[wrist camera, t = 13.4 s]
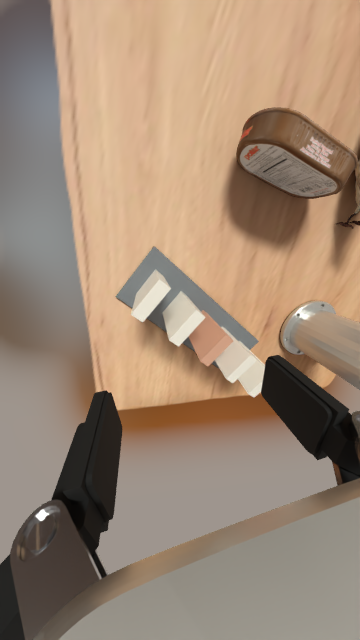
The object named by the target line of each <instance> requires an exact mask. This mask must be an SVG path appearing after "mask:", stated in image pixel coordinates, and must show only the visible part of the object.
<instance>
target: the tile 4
mask: <svg viewBox="0 0 360 640" xmlns="http://www.w3.org/2000/svg"><path fill="white" fill-rule="evenodd" d="M221 328H222V329H223V330H224V331H225V332H226V333H227V334H228V335H229V336H230V337H231V339H232V340H233V342H232V343H231V344H230V345H229V346H228V347H227V348H226V349H225V350H224V351H223V352H222V353H221V354H220V355H219V356H218V357H217V358H216V359H215V361H216V363H217V365H218V366H219V368H220V370H221V371H222V373H223V375H224V376H225V378H226V379H227V380H229V381H230V382H231V383H234V382H235V381H236V380H237V379H238V378H239V377H240V376H241V375H242V374H243V373H244V372H246V371H247V370H248V369H249V368H250V367H251V366H252V365H253V364H254V363H255V362H256V361H257V360H256V359H255V358H254V357H253V356H252V355H251V354H250V353H249V352H248V351H247V350H246V349H245V348H244V347H243V346H242V344H241V343H240V342H239V341H238V340H237V339H236V338H235V337H234V336H233V335H232V334H231V333H230V332H229V331H228V330H226V329H225V328H224V327H223V326H222V327H221Z"/></svg>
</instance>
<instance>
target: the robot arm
mask: <svg viewBox="0 0 360 640" xmlns="http://www.w3.org/2000/svg"><path fill="white" fill-rule="evenodd" d="M280 340H281V343H282V346H283V347H284V348H285V349H286V350H287V351H289V352H290V353H292V354H296V355H301V354H306V355H308V356H309V357H311V358H312V359H314V360H315V361H317V362H318V363H320V364H321V365H323V366H324V367H326V368H327V369H329V370H330V371H332V372H333V373H335V374H336V375H338V376H339V377H341V378H342V379H344V380H345V381H347V382H348V383H350V384H351V385H353V386H354V387H356V388H357V389H359V390H360V322H357V321H354V320H351V319H348V318H345V317H342V316H339V315H337V314H336V312H335V310H334V308H333V307H332V306H331V305H330V304H328V303H326V302H323V301H317V300H316V301H310V302H307V303H304V304H302V305H301V306H299V307H298V308H296V309H295V310H294V311H293V312H292V313H291V314H290V315H289V316H288V317H287V319H286V320H285V322H284V324H283V326H282V329H281V334H280ZM261 394H262V396H263V397H264V399H265V400H266V401H267V402H268V404H269V405H270V406H271V407H272V408H273V410H274V411H275V412H276V413H277V415H278V416H279V417H280V418H281V420H282V421H283V422H284V423H285V424H286V426H287V427H288V428H289V429H290V431H291V432H292V433H293V434H294V435H295V437H296V438H297V439H298V440H299V442H300V443H301V444H302V445H303V446H304V448H305V449H306V450H307V451H308V452H309V453H311V454H313V455H314V457H315V458H316V459H317V460H319V459H322V458H325V457H327V456H328V457H329V458H330V459H331V460H332V463H333V468H334V472H335V476H336V481H337V485H338V486H336V487H333V488H331V489H328V490H325V491H322V492H320V493H317V494H314V495H311V496H309V497H306V498H303V499H301V500H298V501H295V502H292V503H290V504H287V505H284V506H282V507H279V508H276V509H273V510H271V511H268V512H265V513H263V514H260V515H257V516H255V517H252V518H249V519H247V520H244V521H241V522H238V523H236V524H233V525H230V526H228V527H225V528H223V529H220V530H217V531H215V532H212V533H209V534H207V535H204V536H201V537H199V538H196V539H194V540H191V541H188V542H185V543H183V544H180V545H178V546H175V547H172V548H170V549H167V550H165V551H163V552H160V553H157V554H155V555H153V556H150V557H148V558H145V559H143V560H140V561H138V562H135V563H133V564H130V565H128V566H126V567H124V568H122V569H120V570H118V571H116V572H114V573H112V574H109V575H108V573H107V570H106V569H105V566H104V565H103V563H102V560H101V559H100V557H99V555H98V553H97V551H96V549H97V547H98V546H99V539H100V538H99V537H100V533H101V532H104V531H107V530H108V523H109V520H111V519H112V518H113V515H114V506H115V496H116V486H117V477H118V467H119V458H120V447H121V438H122V425H121V421H120V418H119V415H118V412H117V409H116V406H115V403H114V400H113V396H112V394H111V393H108V392H107V391H102V392H97V393H95V394H94V396H93V400H92V403H91V406H90V409H89V412H88V415H87V418H86V421H85V423H81V424H80V425H79V426H78V427H77V430H76V433H75V435H74V438H73V441H72V444H71V446H70V449H69V452H68V455H67V458H66V461H65V463H64V466H63V469H62V472H61V475H60V477H59V480H58V483H57V486H56V489H55V491H54V494H53V497H52V500H51V501H48V502H47V503H44V504H42V505H41V506H40V507H38V508H37V509H36V510H35V511H34V512H33V513H32V514H31V515H30V516H29V517H28V518H27V519H26V521H25V522H24V523H23V525H22V526H21V528H20V529H19V531H18V533H17V535H16V537H15V539H14V541H13V544H12V548H11V552H10V555H9V556H8V557H7V558H6V559H5V560H4V561H3V562H2V563H1V564H0V640H360V411H355V412H353V413H352V415H351V414H350V413H349V412H348V411H349V409H348V408H347V407H345V406H344V405H343V404H342V403H340V402H339V401H338V400H336V399H335V398H334V397H333V396H331V395H330V394H329V393H327V392H326V391H325V390H324V389H322V388H321V387H320V386H318V385H317V384H316V383H315V382H313V381H312V380H311V379H309V378H308V377H307V376H306V375H304V374H303V373H302V372H300V371H299V370H298V369H296V368H295V367H294V366H293V365H291V364H290V363H289V362H287V361H286V360H285V359H284V358H282V357H281V356H279V355H275V356H271V357H268V359H267V360H266V364H265V370H264V376H263V382H262V388H261Z"/></svg>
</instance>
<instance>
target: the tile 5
mask: <svg viewBox="0 0 360 640" xmlns="http://www.w3.org/2000/svg"><path fill="white" fill-rule="evenodd" d="M239 342H240V343H241V344H242V346H243V347H244V348H245V349H246V350H247V351H248V352H249V353H250V354H251V355H252V356H253V357H254V358H255V359H256V360H257V361H256V362H255V363H254V364H253V365H252V366H251V367H250V368H249V369H248V370H247V371H246V372H244V373H243V374H242V375H241V376H240V377H239V378H238V380H239V381H240V383H241V384H242V386H243V387H244V389H245V390H246V391H247V393H248V394H249V395H251V396H252V397H255V396H256V395H257V394H259V393H260V392H261V388H262V382H263V376H264V370H265V365H264V364H263V363H262V362H261V361H260V360H259V359H258V358H257V357H256V356H255V355H254V354H253V353H252V352H251V351H250V350H249V349H248V348H247V347H246V346H245V345H244V344H243V343H242V342H241V341H239Z"/></svg>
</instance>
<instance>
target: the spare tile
mask: <svg viewBox="0 0 360 640" xmlns="http://www.w3.org/2000/svg"><path fill="white" fill-rule="evenodd" d="M201 313H202V314H203V315H204V316H205V317H206V318H205V319H204V320H203V321H202V322H201V323H200V324H199V325H198V326H197V327H196V328H195V330H194V331H193V332H192V333H191V334H190V335H189V336H188V337H189V339H190V341H191V343H192V345H193V347H194V349H195V352H196V354H197V356H198V358H199V360H200V362H202V363H203V364H205V365H206V366H209V365H210V364H211V363H212V362H213V361H214V360H215V359H216V358H217V357H218V356H219V355H220V354H221V353H222V352H223V351H224V350H225V349H226V348H227V347H228V346H229V345H230V344H231V343H232V342H233V340H232V339H231V337H230V336H229V335H228V334H227V333H226V332H225V331H224V330H223V329H222V328H221V327H220V326H219V325H218V324H217V323H216V322H215V321H214V320H213V318H212V317H211V316H210V315H209V314H208V313H206V312H205V311H204V310H202V311H201Z"/></svg>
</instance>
